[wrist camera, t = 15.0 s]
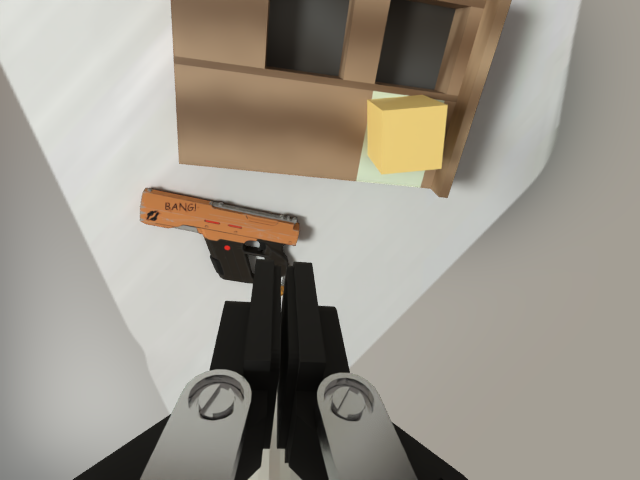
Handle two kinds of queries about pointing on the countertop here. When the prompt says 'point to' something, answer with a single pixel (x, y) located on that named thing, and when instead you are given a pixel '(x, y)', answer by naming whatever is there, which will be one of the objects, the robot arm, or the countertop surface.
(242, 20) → the wooden tray
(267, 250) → the toy gun
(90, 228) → the countertop surface
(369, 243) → the countertop surface
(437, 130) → the block
